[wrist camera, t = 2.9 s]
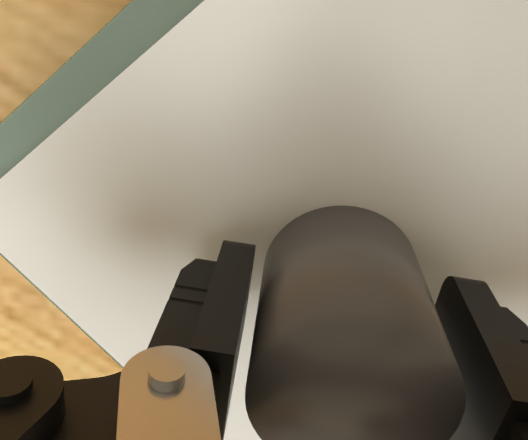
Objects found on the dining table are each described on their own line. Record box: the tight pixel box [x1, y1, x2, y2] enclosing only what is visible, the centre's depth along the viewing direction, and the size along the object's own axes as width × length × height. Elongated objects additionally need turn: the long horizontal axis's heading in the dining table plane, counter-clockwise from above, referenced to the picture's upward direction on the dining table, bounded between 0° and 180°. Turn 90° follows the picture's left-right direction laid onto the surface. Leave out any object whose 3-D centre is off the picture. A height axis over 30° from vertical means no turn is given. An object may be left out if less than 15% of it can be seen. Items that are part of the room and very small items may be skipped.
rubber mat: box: [0, 0, 204, 368], centre depth 13 cm, size 15×15×1 cm
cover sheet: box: [0, 0, 528, 440], centre depth 10 cm, size 13×13×5 cm
